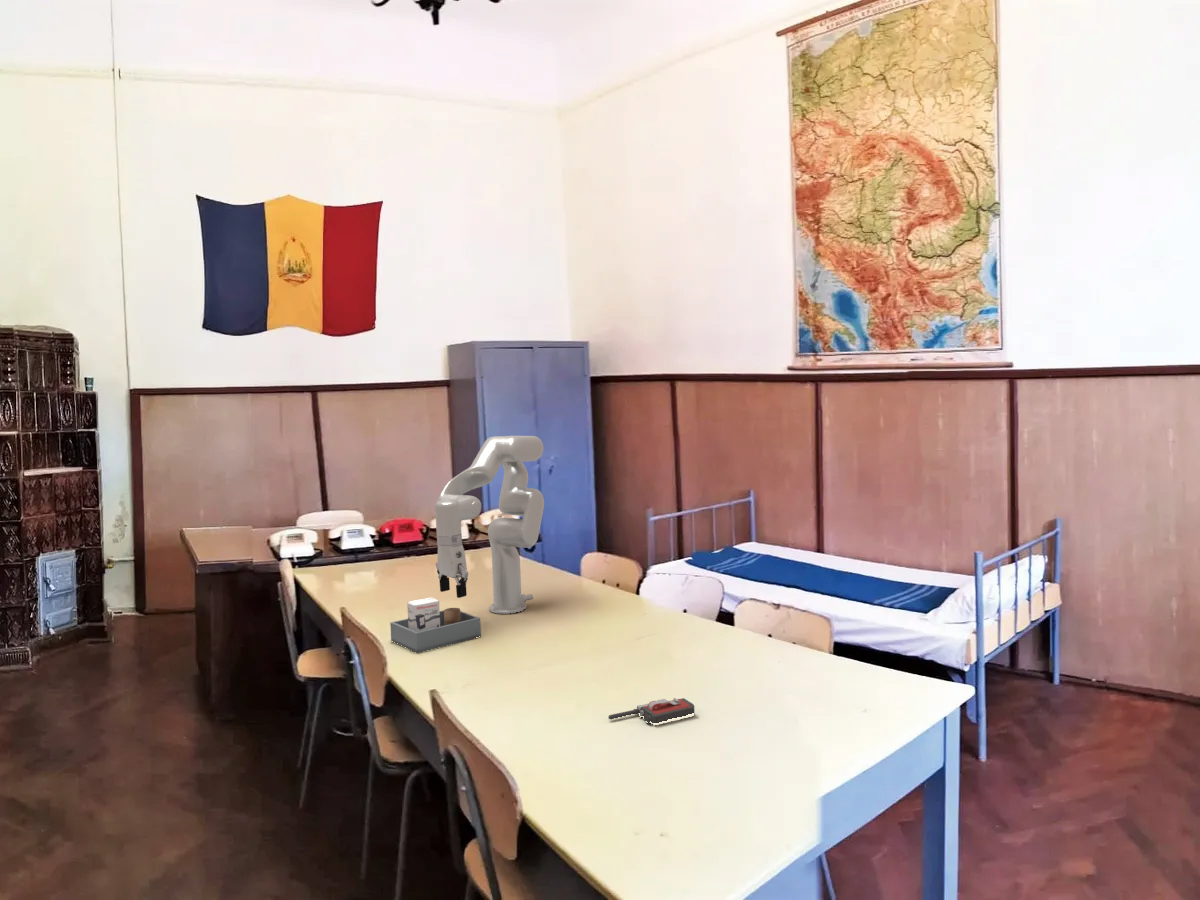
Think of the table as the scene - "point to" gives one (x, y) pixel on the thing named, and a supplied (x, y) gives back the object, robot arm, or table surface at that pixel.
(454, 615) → the walnut cylinder
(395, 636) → the tote
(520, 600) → the robot arm
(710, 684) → the table surface
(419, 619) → the ink box
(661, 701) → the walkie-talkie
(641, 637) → the table surface
